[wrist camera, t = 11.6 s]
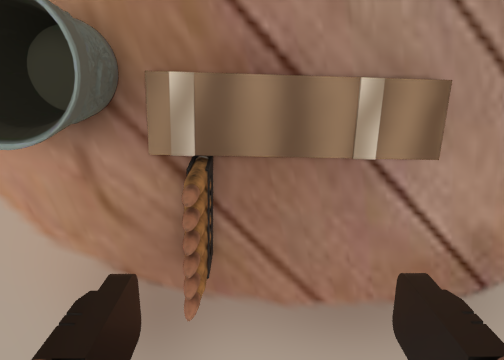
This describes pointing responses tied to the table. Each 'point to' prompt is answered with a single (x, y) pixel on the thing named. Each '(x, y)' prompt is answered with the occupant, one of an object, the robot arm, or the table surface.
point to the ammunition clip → (197, 230)
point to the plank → (295, 115)
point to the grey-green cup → (49, 72)
